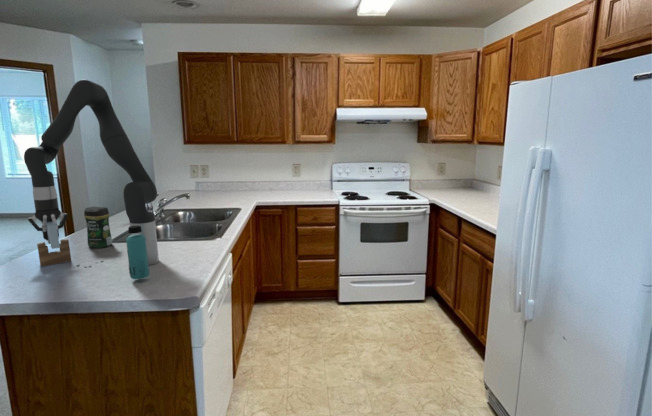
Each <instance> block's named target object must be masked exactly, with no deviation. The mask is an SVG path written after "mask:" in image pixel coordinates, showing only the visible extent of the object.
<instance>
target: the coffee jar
mask: <svg viewBox="0 0 652 416" xmlns="http://www.w3.org/2000/svg"><path fill="white" fill-rule="evenodd" d="M83 212H84V214H83V216H84V219H85V223H86V232H87V234H86V235H87V239H86V240H87V246H88V247H89V248H96V249H97V248H98V249H103V248H107V247H109V246H111V245H112V244H113V237H112V234H111V229H110V222H109V221H110V211H109V209H108V207H107V206H105V207H104V206H103V207H102V206H89V207H85V209H84V211H83Z"/></svg>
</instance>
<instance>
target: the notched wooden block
mask: <svg viewBox="0 0 652 416" xmlns="http://www.w3.org/2000/svg"><path fill="white" fill-rule="evenodd" d="M59 240H60V241H59V245H60V248H59V250H56V251H50V252H49V247H48V245H46V244H47V243H46V242H45V241H43V242H38V243H36V246H37V252H38V259H39V265H40V267H48V266H52V265H57V264H61V263H62V264H63V263H66V262H72V255H71V249H70V242H69V241H70V240H69V239H68V238H63V239H59Z"/></svg>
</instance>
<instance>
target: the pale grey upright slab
mask: <svg viewBox="0 0 652 416" xmlns="http://www.w3.org/2000/svg"><path fill="white" fill-rule="evenodd" d="M57 225H58V224H57ZM57 225H56V224H55V223H54V222H47V223H46V231H47V234H48V240H47V241H46V242H47V244H48V245H50V248H51V249H52V250H54V249H60V245H59V243H60V241H59V240H60V239H59V238H60V237H58V231H59V230H58V231H57Z"/></svg>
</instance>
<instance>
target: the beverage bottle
mask: <svg viewBox="0 0 652 416" xmlns="http://www.w3.org/2000/svg"><path fill="white" fill-rule="evenodd" d="M127 232H128V234H129V235H128V237H126V239H125V242H126V251H127V252H126V253H127V259H128V271H129V277H130V278H131V279H132V280H140V279H141V280H142V279H146V278H148V277H149V276H150V265H148V264H149V263H148V256H147V248H146V237H145V236H143V235H142V234H134V235H131V233H139V232H142V230H141V226H139V225H134V226H130V225H129V227H128V231H127Z"/></svg>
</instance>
